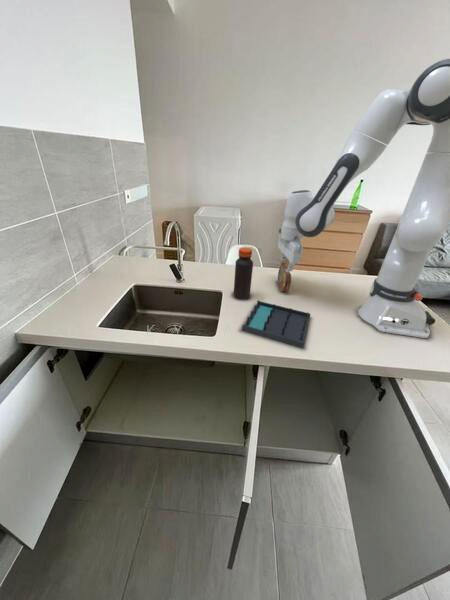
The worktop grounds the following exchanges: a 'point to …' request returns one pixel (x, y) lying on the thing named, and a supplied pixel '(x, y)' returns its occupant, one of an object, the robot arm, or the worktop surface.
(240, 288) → the bottle
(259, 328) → the tray
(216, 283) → the worktop surface
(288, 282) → the brown flat piece
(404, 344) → the worktop surface
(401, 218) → the robot arm
